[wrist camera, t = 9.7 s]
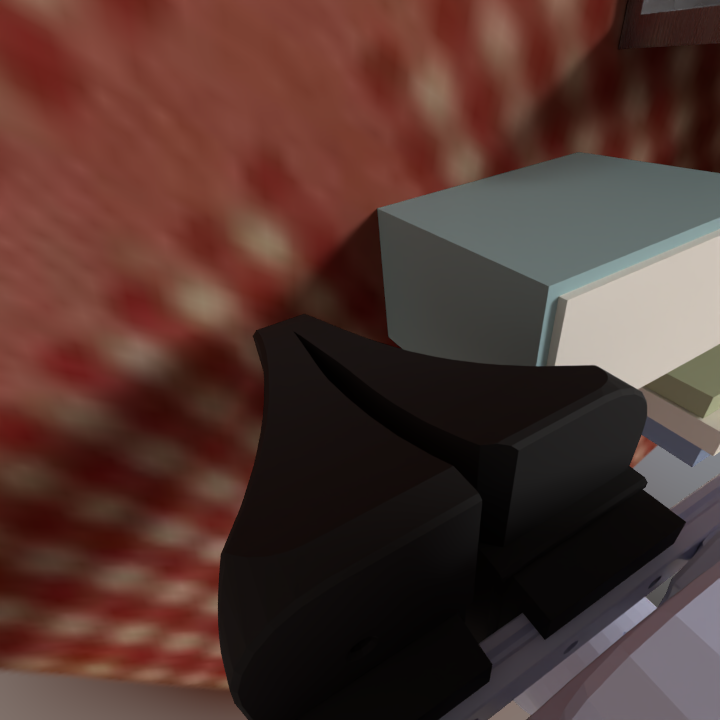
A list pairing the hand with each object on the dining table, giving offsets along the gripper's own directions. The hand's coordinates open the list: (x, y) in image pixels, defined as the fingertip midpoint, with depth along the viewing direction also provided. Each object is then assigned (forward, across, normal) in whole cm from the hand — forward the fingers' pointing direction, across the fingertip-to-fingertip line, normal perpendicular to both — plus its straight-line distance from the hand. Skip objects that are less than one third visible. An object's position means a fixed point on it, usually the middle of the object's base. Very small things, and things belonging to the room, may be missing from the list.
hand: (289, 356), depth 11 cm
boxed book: (+2, -8, 0) cm, 8 cm away
